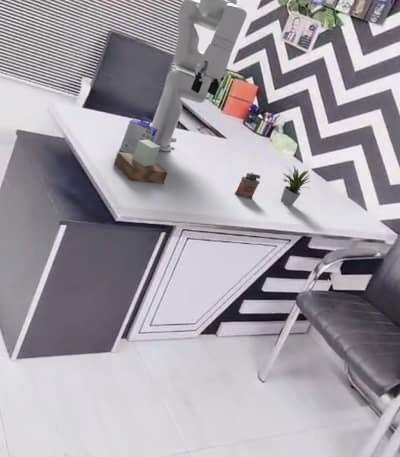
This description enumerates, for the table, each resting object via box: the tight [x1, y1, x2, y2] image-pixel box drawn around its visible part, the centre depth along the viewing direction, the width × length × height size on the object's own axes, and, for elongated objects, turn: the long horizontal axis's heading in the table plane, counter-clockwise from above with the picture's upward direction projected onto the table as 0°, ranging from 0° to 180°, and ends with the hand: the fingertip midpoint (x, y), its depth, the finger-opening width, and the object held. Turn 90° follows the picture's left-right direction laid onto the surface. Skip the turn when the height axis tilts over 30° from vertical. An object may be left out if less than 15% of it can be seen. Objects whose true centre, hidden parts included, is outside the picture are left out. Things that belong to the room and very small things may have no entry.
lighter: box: [234, 172, 261, 200], centre depth 203 cm, size 8×3×10 cm, turn 117°
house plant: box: [280, 165, 312, 207], centre depth 217 cm, size 14×14×16 cm
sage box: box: [132, 140, 160, 167], centre depth 178 cm, size 6×6×7 cm
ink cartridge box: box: [119, 116, 157, 154], centre depth 194 cm, size 10×6×14 cm, turn 78°
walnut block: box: [113, 151, 169, 185], centre depth 181 cm, size 14×12×5 cm
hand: (202, 92), depth 180 cm, fingers open, 9 cm apart
